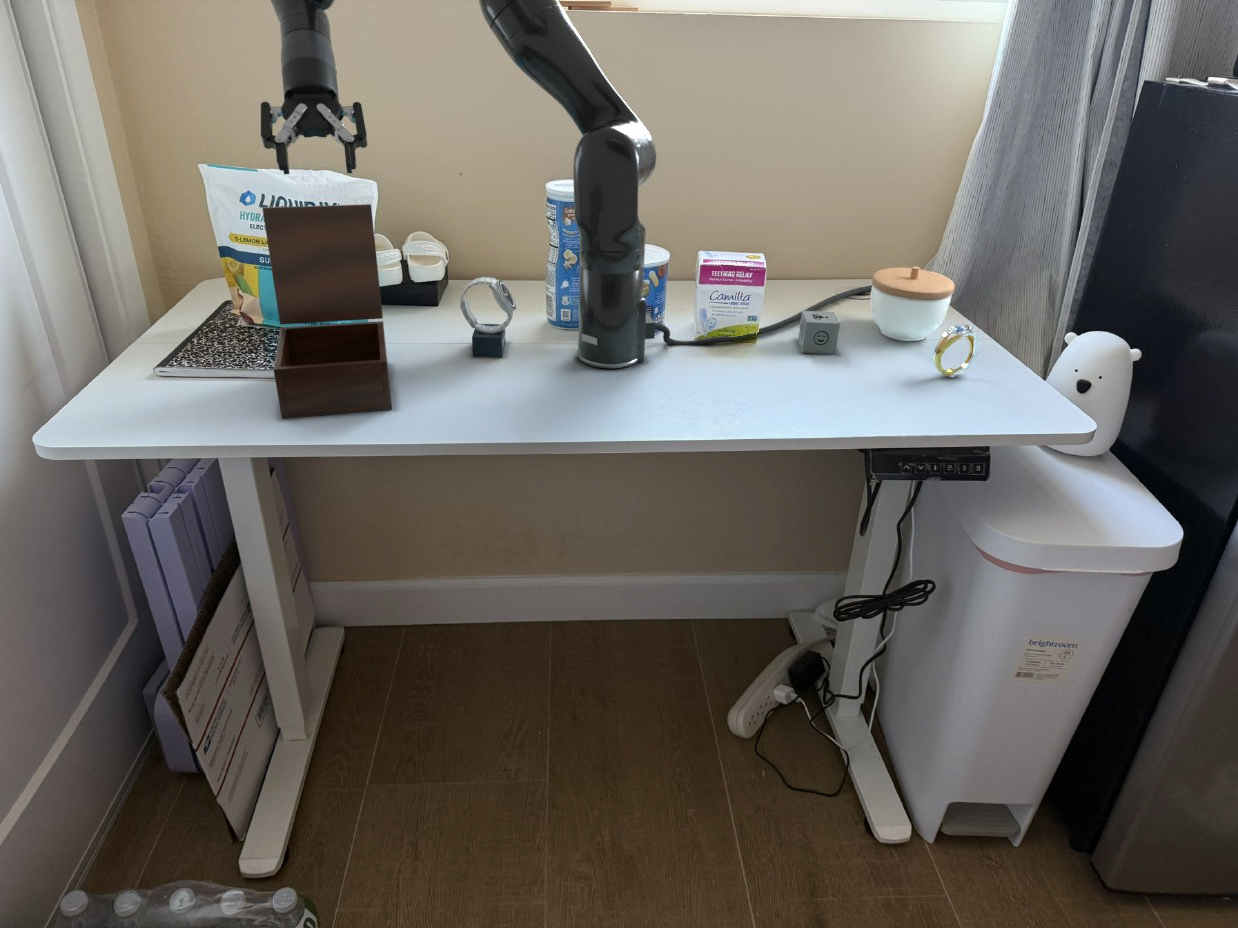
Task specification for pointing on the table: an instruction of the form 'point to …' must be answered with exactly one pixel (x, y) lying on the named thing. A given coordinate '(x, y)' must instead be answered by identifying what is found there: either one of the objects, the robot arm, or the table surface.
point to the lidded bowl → (909, 302)
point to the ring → (944, 345)
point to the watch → (489, 336)
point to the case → (332, 369)
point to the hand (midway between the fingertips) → (318, 171)
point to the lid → (323, 263)
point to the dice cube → (818, 332)
